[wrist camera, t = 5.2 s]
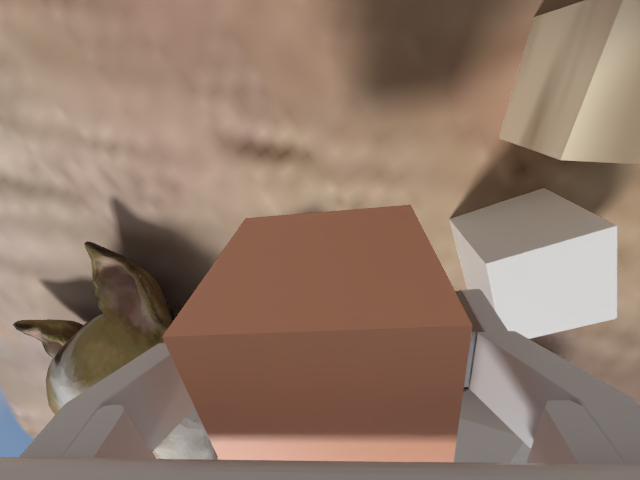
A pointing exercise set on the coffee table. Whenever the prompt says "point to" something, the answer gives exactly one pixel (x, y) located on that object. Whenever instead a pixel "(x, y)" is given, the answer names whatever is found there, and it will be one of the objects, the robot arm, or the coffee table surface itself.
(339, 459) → the terracotta cube
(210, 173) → the coffee table surface
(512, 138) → the birch cube
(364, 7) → the coffee table surface
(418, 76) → the coffee table surface
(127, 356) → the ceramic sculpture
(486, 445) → the die
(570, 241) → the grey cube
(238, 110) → the coffee table surface
